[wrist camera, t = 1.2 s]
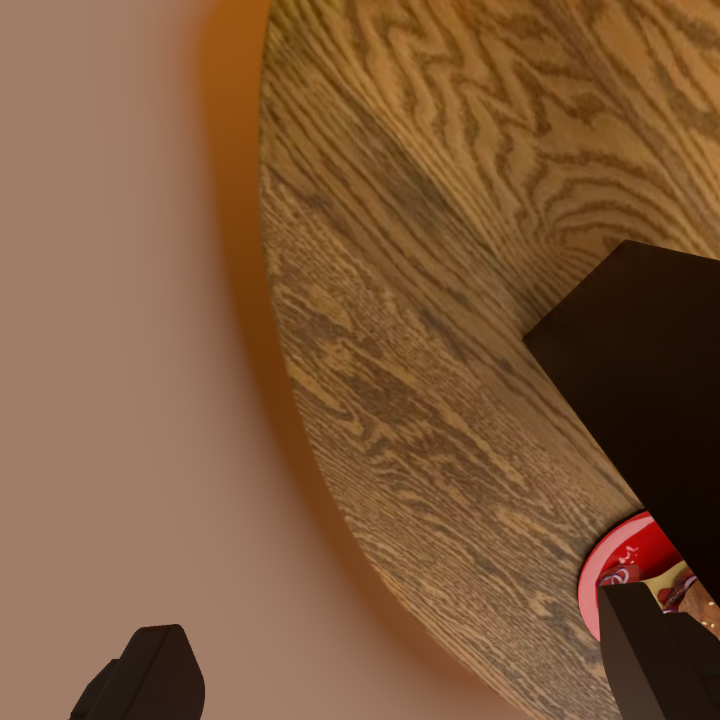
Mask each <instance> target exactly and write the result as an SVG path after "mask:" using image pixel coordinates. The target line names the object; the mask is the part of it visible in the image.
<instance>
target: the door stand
mask: <svg viewBox="0 0 720 720" xmlns="http://www.w3.org/2000/svg"><path fill="white" fill-rule="evenodd" d="M522 342H523V343H524V344H525V346H526V347H527V348H528V350H529V351H530V352H531V354H532V355H533V357H534V358H535V359H536V361H537V362H538V363H539V365H540V366H541V367H542V369H543V370H544V371H545V373H546V374H547V376H548V377H549V378H550V380H551V381H552V382H553V384H554V385H555V386H556V388H557V389H558V390H559V392H560V393H561V394H562V396H563V397H564V399H565V400H566V401H567V403H568V404H569V405H570V407H571V408H572V409H573V411H574V412H575V413H576V415H577V416H578V418H579V419H580V420H581V422H582V423H583V424H584V426H585V427H586V428H587V430H588V431H589V432H590V434H591V435H592V437H593V438H594V439H595V441H596V442H597V443H598V445H599V446H600V447H601V449H602V450H603V451H604V453H605V454H606V456H607V457H608V458H609V460H610V461H611V462H612V464H613V465H614V466H615V468H616V469H617V470H618V472H619V473H620V475H621V476H622V477H623V479H624V480H625V481H626V483H627V484H628V485H629V487H630V488H631V489H632V491H633V492H634V494H635V495H636V496H637V498H638V499H639V500H640V502H641V503H642V504H643V506H644V507H645V508H646V510H647V511H648V513H649V514H650V515H651V517H652V518H653V519H654V521H655V522H656V523H657V525H658V526H659V527H660V529H661V530H662V531H663V533H664V534H665V536H666V537H667V538H668V540H669V541H670V542H671V544H672V545H673V546H674V548H675V549H676V550H677V552H678V553H679V555H680V556H681V557H682V559H683V560H684V561H685V563H686V564H687V565H688V567H689V568H690V569H691V571H692V572H693V574H694V575H695V576H696V578H697V579H698V580H699V582H700V583H701V584H702V586H703V587H704V588H705V590H706V591H707V593H708V594H709V595H710V597H711V598H712V599H713V601H714V602H715V603H716V605H717V606H718V607H719V609H720V261H719V260H715V259H710V258H706V257H701V256H697V255H692V254H688V253H684V252H679V251H675V250H670V249H666V248H662V247H657V246H653V245H648V244H644V243H639V242H635V241H631V240H624V241H623V242H622V243H621V244H620V245H619V246H618V247H617V248H616V249H615V250H614V251H613V252H612V253H611V254H610V255H609V256H608V257H607V258H606V259H605V260H604V261H603V262H602V263H601V264H599V265H598V266H597V267H596V268H595V269H594V270H593V271H592V272H591V273H590V274H589V275H588V276H587V277H586V278H585V279H584V280H583V281H582V282H581V283H580V284H579V285H578V286H577V287H576V288H575V289H573V290H572V291H571V292H570V293H569V294H568V295H567V296H566V297H565V298H564V299H563V300H562V301H561V302H560V303H559V304H558V305H557V306H556V307H555V308H554V309H553V310H552V311H551V312H550V313H549V314H547V315H546V316H545V317H544V318H543V319H542V320H541V321H540V322H539V323H538V324H537V325H536V326H535V327H534V328H533V329H532V330H531V331H530V332H529V333H528V334H527V335H526V336H525V337H524V338H523V339H522Z"/></svg>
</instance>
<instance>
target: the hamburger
mask: <svg viewBox="0 0 720 720" xmlns="http://www.w3.org/2000/svg"><path fill="white" fill-rule="evenodd" d="M631 582H644V583H645V584H646V585H647V586H648V587H649V589H650V591H651V592H652V594H653V596H654V597H655V599H656V601H657V603H658V604H659V606H660V608H661V609H662V611H663V613H676V612H687V613H688V614H690V615H691V616H692V617H693V618H695V619H696V620H697V621H698V622H699V623H701V624H702V625H703V626H704V627H706V628H707V629H708V630H709V631H710V632H712V633H713V634H714V635H715V636H717V638H718V639H719V641H720V609H719V607H718V606H717V605H716V603H715V602H714V601H713V599H712V598H711V597H710V595H709V594H708V593H707V591H706V590H705V588H704V587H703V586H702V584H701V583H700V582H699V580H698V579H697V578H696V576H695V575H694V574H693V572H692V571H691V569H690V568H689V567H688V565H687V564H686V563H685V561H684V560H683V559H682V557H681V556H680V555H679V553H678V552H677V550H676V549H675V548H674V546H673V545H672V544H671V542H670V541H669V540H668V538H667V537H666V536H665V534H664V533H663V531H662V530H661V529H660V527H659V526H658V525H657V523H656V522H655V521H654V519H653V518H652V517H651V515H650V514H649V513H648V511H646V512H643V513H641V514H639V515H637V516H635V517H633V518H631V519H629V520H627V521H625V522H624V523H622V524H621V525H619V526H618V527H616V528H615V529H614V530H612V531H611V532H610V533H609V534H608V535H606V536H605V537H604V538H603V539H602V540H601V541H600V543H599V544H598V545H597V546H596V547H595V549H594V550H593V551H592V553H591V554H590V556H589V557H588V559H587V561H586V563H585V565H584V567H583V570H582V573H581V576H580V580H579V585H578V603H579V608H580V612H581V615H582V618H583V620H584V622H585V624H586V626H587V628H588V629H589V631H590V632H591V633H592V635H593V636H594V637H595V638H596V639H597V640H598V641H599V642H600V631H599V613H598V596H597V590H598V586H600V585H610V584H621V583H631Z"/></svg>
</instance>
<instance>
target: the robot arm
mask: <svg viewBox="0 0 720 720" xmlns="http://www.w3.org/2000/svg"><path fill="white" fill-rule="evenodd" d="M597 596H598V613H599V631H600V647H601V655H602V660H603V664H604V669H605V672H606V676H607V679H608V682H609V685H610V688H611V690H612V693H613V695H614V698H615V700H616V703H617V705H618V708H619V710H620V713H621V715H622V718H623V720H720V641H719V639H718V638H717V636H715V635H714V634H713V633H712V632H710V631H709V630H708V629H707V628H706V627H704V626H703V625H702V624H701V623H699V622H698V621H697V620H696V619H695V618H693V617H692V616H691V615H690V614H688V613H687V612H676V613H663V611H662V609H661V608H660V606H659V604H658V603H657V601H656V599H655V597H654V596H653V594H652V592H651V591H650V589H649V587H648V586H647V585H646V584H645V583H644V582H631V583H621V584H610V585H600V586H598V590H597ZM204 700H205V684H204V679H203V676H202V673H201V671H200V668H199V666H198V663H197V661H196V659H195V656H194V654H193V651H192V649H191V646H190V644H189V641H188V639H187V637H186V634H185V632H184V629H183V628H182V627H181V626H180V625H178V624H172V625H161V626H151V627H142V628H140V629H138V630H137V631H136V632H135V633H134V635H133V636H132V638H131V639H130V641H129V643H128V645H127V646H126V648H125V650H124V652H123V653H122V655H121V657H120V659H112V660H111V662H110V663H108V664H107V665H106V666H105V668H104V669H103V670H102V671H101V672H100V673H99V674H98V675H97V676H96V677H95V678H94V679H93V680H92V681H91V682H90V683H89V684H88V685H87V687H86V689H85V690H84V692H83V694H82V695H81V697H80V699H79V700H78V702H77V704H76V705H75V707H74V709H73V711H72V712H71V717H70V719H69V720H200V718H201V715H202V711H203V707H204Z"/></svg>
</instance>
